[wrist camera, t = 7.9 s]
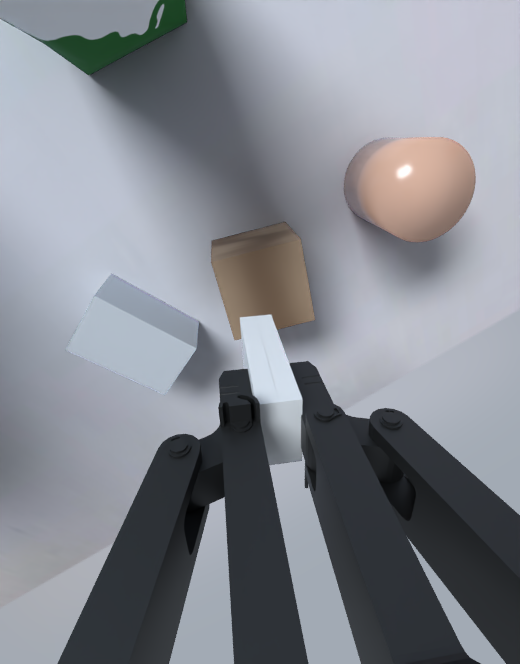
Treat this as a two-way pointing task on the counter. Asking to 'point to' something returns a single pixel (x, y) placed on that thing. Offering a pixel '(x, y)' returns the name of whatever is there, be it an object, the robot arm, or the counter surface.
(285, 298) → the walnut cube
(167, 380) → the grey brick
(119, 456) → the counter surface
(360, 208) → the peach domed cylinder
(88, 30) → the milk carton
